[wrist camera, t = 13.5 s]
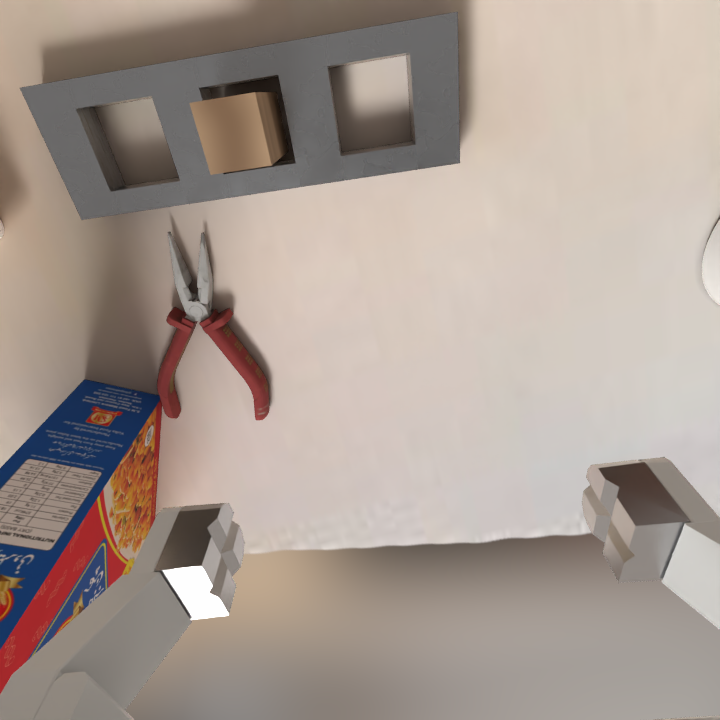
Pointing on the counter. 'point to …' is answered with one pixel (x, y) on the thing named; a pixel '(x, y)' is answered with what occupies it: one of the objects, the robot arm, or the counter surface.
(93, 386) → the pasta box
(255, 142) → the square peg
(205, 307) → the pliers
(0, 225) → the pipe fitting
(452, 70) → the grey peg hole board
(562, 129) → the counter surface
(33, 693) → the robot arm
